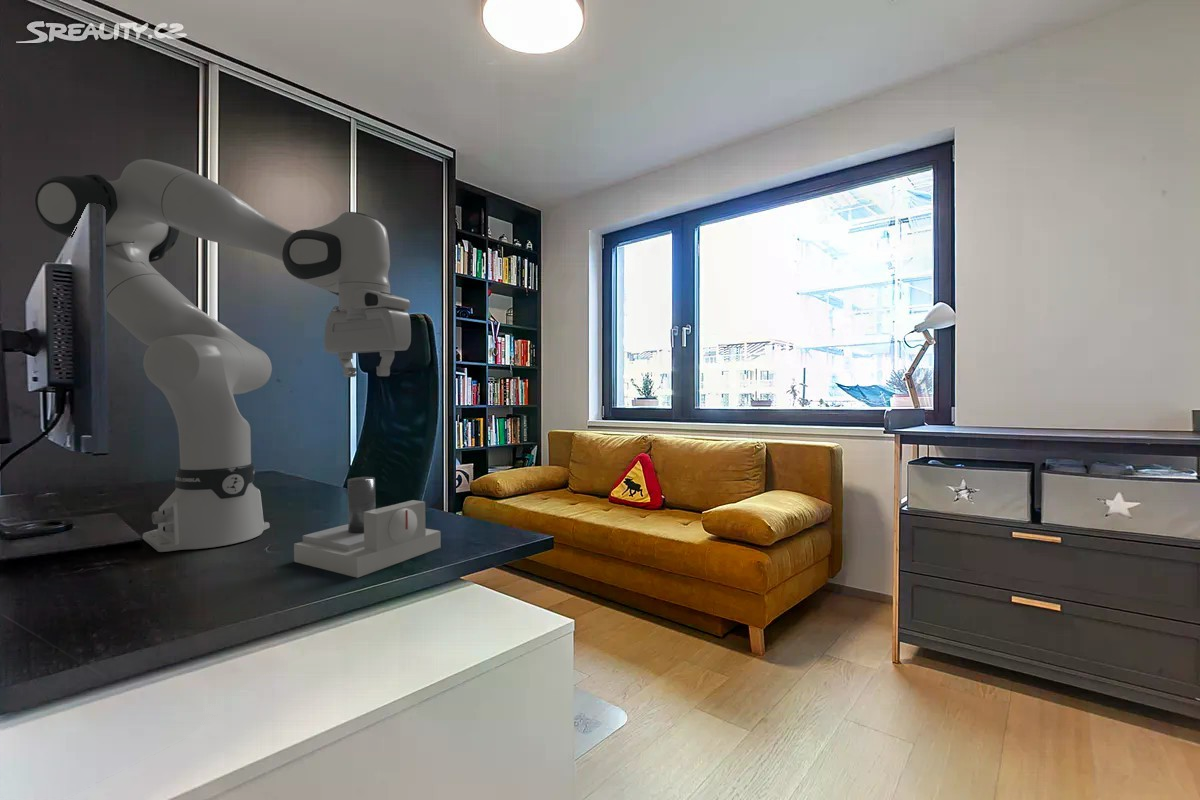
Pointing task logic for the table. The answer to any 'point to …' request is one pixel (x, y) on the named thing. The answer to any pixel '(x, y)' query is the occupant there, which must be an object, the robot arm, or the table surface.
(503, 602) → the table surface
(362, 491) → the cylinder
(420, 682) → the table surface
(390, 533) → the kitchen scale
